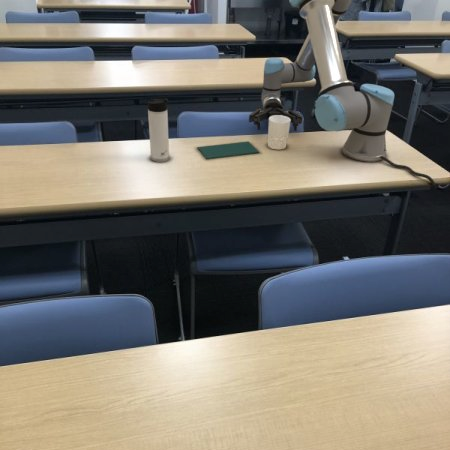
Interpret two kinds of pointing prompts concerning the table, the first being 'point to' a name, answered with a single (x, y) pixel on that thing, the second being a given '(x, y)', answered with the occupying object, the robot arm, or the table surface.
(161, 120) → the travel mug
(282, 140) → the white cup
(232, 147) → the placemat
